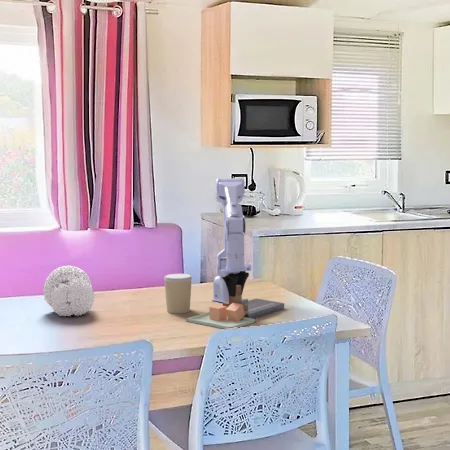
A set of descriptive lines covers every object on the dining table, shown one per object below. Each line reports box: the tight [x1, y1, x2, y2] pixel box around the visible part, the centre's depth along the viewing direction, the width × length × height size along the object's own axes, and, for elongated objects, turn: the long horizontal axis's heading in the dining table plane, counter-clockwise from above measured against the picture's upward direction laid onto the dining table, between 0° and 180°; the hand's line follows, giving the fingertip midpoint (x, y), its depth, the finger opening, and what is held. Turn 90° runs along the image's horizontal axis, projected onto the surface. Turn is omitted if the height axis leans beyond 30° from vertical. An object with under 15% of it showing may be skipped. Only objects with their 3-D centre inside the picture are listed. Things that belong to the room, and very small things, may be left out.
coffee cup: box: [163, 273, 193, 314], centre depth 254 cm, size 9×9×12 cm
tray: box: [186, 311, 256, 330], centre depth 239 cm, size 18×13×1 cm
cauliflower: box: [42, 265, 95, 317], centre depth 251 cm, size 20×18×16 cm
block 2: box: [225, 303, 245, 322], centre depth 240 cm, size 4×4×4 cm
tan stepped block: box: [222, 285, 248, 312], centre depth 244 cm, size 8×3×8 cm, turn 51°
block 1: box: [208, 304, 227, 321], centre depth 242 cm, size 4×4×4 cm
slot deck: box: [221, 298, 285, 320], centre depth 252 cm, size 12×20×3 cm, turn 141°
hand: (235, 295), depth 244 cm, fingers closed on tan stepped block, 3 cm apart
